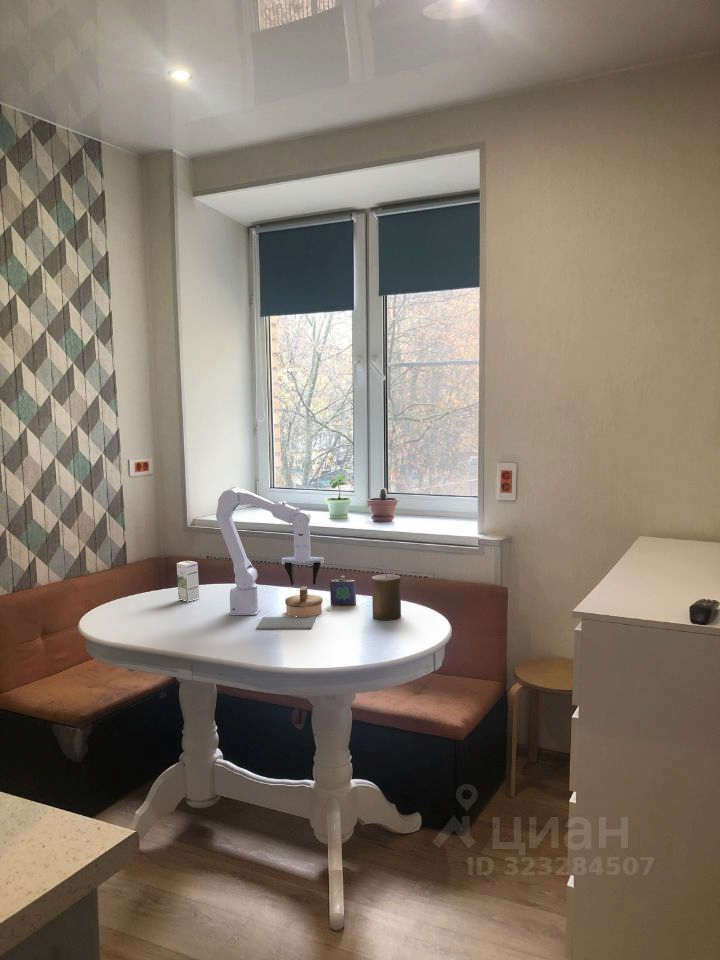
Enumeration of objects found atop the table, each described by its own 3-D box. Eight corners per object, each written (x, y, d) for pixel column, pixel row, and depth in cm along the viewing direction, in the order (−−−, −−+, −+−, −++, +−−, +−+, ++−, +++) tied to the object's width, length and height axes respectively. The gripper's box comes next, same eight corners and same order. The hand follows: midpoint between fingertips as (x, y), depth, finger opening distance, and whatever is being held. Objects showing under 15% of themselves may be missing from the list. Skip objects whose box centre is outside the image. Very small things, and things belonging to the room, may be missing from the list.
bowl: (284, 616, 249) (284, 606, 249) (289, 607, 261) (289, 597, 261) (319, 616, 249) (319, 606, 248) (323, 607, 260) (322, 597, 260)
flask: (356, 603, 264) (355, 574, 263) (355, 605, 261) (355, 576, 260) (330, 604, 265) (330, 575, 264) (330, 606, 262) (329, 577, 261)
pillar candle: (400, 620, 242) (399, 576, 240) (370, 620, 243) (370, 576, 242) (401, 613, 251) (401, 570, 250) (373, 612, 253) (373, 569, 251)
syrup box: (200, 599, 275) (198, 561, 274) (187, 602, 270) (185, 564, 269) (190, 597, 279) (188, 559, 277) (177, 600, 274) (176, 562, 272)
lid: (282, 607, 248) (282, 593, 248) (288, 597, 261) (287, 583, 261) (320, 607, 248) (320, 592, 247) (324, 597, 261) (324, 583, 260)
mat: (256, 629, 236) (256, 627, 236) (263, 618, 248) (263, 617, 248) (311, 629, 235) (311, 627, 235) (315, 618, 247) (315, 616, 247)
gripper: (279, 548, 249) (280, 586, 250) (321, 547, 248) (322, 586, 249) (282, 544, 256) (284, 582, 257) (324, 543, 255) (325, 581, 256)
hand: (303, 583), depth 254 cm, fingers open, 7 cm apart
